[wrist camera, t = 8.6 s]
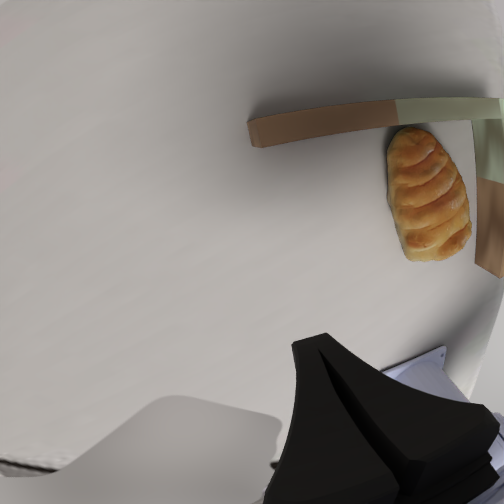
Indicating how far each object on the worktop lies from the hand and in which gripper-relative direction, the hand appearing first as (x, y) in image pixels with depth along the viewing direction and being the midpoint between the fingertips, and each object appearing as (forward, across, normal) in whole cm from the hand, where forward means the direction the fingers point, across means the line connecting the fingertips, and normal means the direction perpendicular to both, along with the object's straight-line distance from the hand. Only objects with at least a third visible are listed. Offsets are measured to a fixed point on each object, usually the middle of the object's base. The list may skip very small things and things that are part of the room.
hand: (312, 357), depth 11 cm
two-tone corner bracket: (+10, -10, -2) cm, 14 cm away
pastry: (+11, -12, -2) cm, 16 cm away
